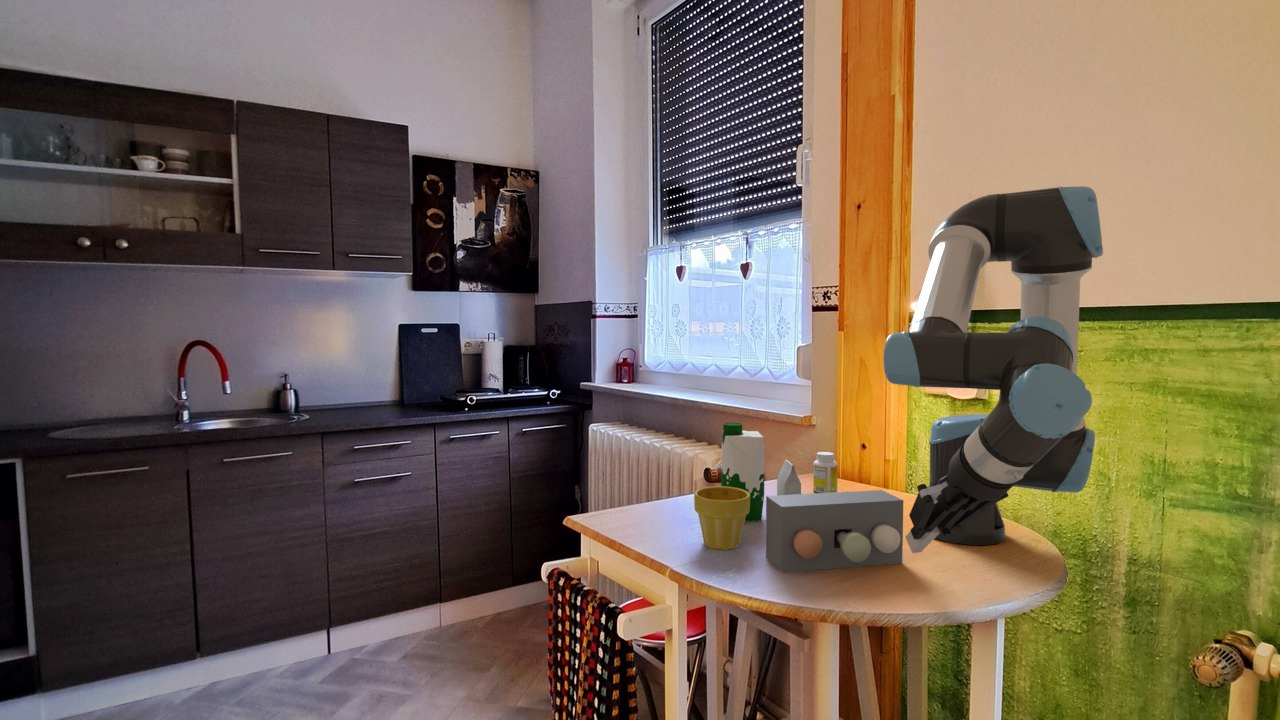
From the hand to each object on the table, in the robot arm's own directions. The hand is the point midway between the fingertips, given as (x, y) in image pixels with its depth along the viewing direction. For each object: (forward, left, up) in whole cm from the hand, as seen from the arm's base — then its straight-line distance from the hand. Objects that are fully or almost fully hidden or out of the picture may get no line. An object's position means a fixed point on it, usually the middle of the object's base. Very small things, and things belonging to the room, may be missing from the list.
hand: (913, 544), depth 101 cm
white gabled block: (+13, -45, -7) cm, 47 cm away
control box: (+10, -11, -7) cm, 16 cm away
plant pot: (+29, -18, -7) cm, 35 cm away
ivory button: (+2, -10, -4) cm, 11 cm away
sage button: (+8, -6, -4) cm, 11 cm away
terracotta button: (+16, -7, -4) cm, 18 cm away
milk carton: (+24, -36, -7) cm, 44 cm away
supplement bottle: (+3, -55, -7) cm, 56 cm away
